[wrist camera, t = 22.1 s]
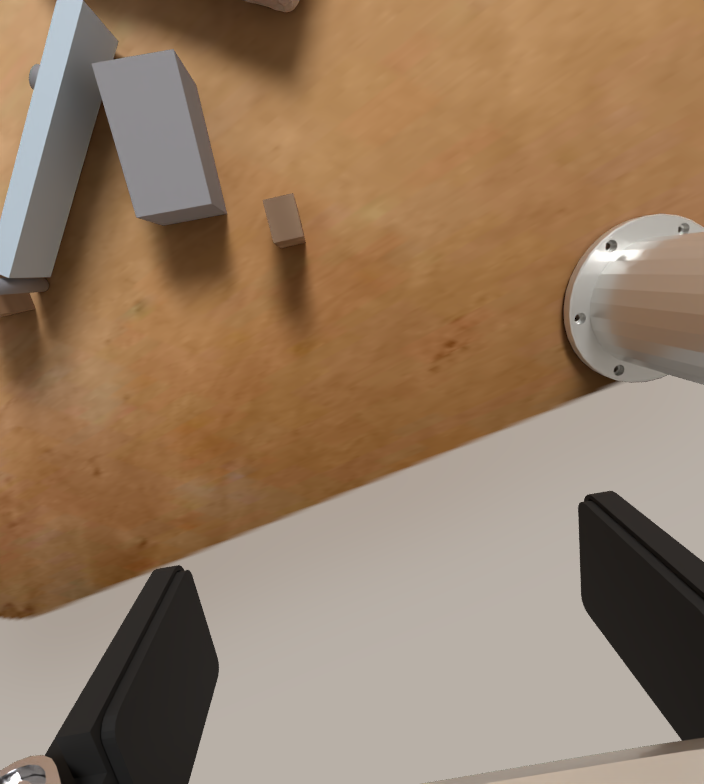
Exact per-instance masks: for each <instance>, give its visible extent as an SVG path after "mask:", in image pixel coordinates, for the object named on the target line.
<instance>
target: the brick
mask: <svg viewBox="0 0 704 784" xmlns="http://www.w3.org/2000/svg"><path fill="white" fill-rule="evenodd" d="M243 1H246V2H250V3H256V4H260V5H263V6H267V7H270V8H272V9H274V10H277V11H282V12H290V11H292V10H293V9H294V8H295V7H296V6H297V5H298V3H299V1H300V0H243Z"/></svg>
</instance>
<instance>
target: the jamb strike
mask: <svg viewBox="0 0 704 784" xmlns="http://www.w3.org/2000/svg"><path fill="white" fill-rule="evenodd" d="M263 204H264V208H265V212H266V215H267V219H268V223H269V227H270V231H271V235H272V239H273V243H274V244H276V245H277V246H279V247H280V248H284V247H288V246H293V245H297V244H301V243H306V242H305V238H304V234H303V229H302V225H301V221H300V217H299V213H298V208H297V205H296V201H295V198H294V194H293V193H292V194H287V195H283V196H279V197H274V198H270V199H265V200H263Z"/></svg>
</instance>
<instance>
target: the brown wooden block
mask: <svg viewBox="0 0 704 784" xmlns="http://www.w3.org/2000/svg"><path fill="white" fill-rule="evenodd" d="M0 278H7V277H5V276H3V275H0ZM34 309H35V307H34V304H33V302H32V299H31V297H30V295H29V293H18V294H4V295H0V317H4V316H8V315H12V314H17V313H21V312H25V311H30V310H34Z"/></svg>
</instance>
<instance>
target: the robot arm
mask: <svg viewBox="0 0 704 784" xmlns="http://www.w3.org/2000/svg"><path fill="white" fill-rule="evenodd" d="M605 247H606V248H605ZM575 316H576V319H575ZM564 324H565V329H566V333H567V337H568V339H569V342H570V344H571V346H572V348H573V350H574V352H575V353H576V354H577V355H578V357H579V358H580V359H581V361H582V362H583V363H585V364H586V365H587V366H588V367H589V368H591V369H592V370H593V371H595V372H597V373H599V374H601V375H603V376H605V377H608V378H611V379H614V380H617V381H624V382H631V383H632V382H647V381H651V380H655V379H659V378H662V377H664V376H666V375H672V376H676V377H679V378H683V379H686V380H689V381H693V382H696V383H700V384H703V385H704V227H702V226H701V225H699V224H697V223H696V222H694V221H693V220H691V219H688V218H684V217H681V216H678V215H670V214H656V215H648V216H643V217H638V218H634V219H630V220H628V221H625V222H623V223H621V224H619V225H616V226H615V227H613V228H612V229H610V230H609V231H607V232H606V233H604V234H603V235H601V236H600V237H599V238H598V239H597V240H596V241H595V242H594V243H593V244H592V245H591V246H590V247H589V248H588V249H587V251H586V252H585V253H584V255H583V256H582V257H581V259H580V260H579V262H578V264H577V265H576V267H575V269H574V271H573V273H572V275H571V278H570V281H569V284H568V287H567V290H566V294H565V302H564ZM578 513H579V542H580V572H581V596H582V602H583V605H584V607H585V609H586V611H587V613H588V614H589V616H590V617H591V619H592V620H593V621H594V622H595V624H596V625H597V627H598V628H599V629H600V630H601V632H602V633H603V635H604V636H605V637H606V639H607V640H608V641H609V643H610V644H611V645H612V647H613V648H614V649H615V651H616V652H617V653H618V655H619V656H620V658H621V659H622V660H623V662H624V663H625V664H626V666H627V667H628V668H629V670H630V671H631V672H632V674H633V675H634V676H635V678H636V679H637V680H638V682H639V683H640V684H641V686H642V687H643V688H644V690H645V691H646V692H647V694H648V695H649V696H650V698H651V699H652V701H653V702H654V703H655V705H656V706H657V707H658V708H659V710H660V711H661V713H662V714H663V715H664V717H665V718H666V719H667V721H668V722H669V723H670V725H671V726H672V727H673V729H674V730H675V731H676V733H677V734H678V735H679V737H680V738H681V740H682V741H678V742H671V743H664V744H657V745H650V746H644V747H638V748H632V749H626V750H620V751H614V752H608V753H602V754H596V755H590V756H584V757H578V758H571V759H565V760H559V761H553V762H547V763H542V764H535V765H529V766H523V767H517V768H511V769H505V770H500V771H493V772H488V773H482V774H477V775H470V776H464V777H458V778H452V779H446V780H441V781H435V782H429V783H424V784H704V562H703V561H702V560H700V559H699V558H698V557H696V556H695V555H694V554H693V553H691V552H690V551H689V550H688V549H686V548H685V547H684V546H682V545H681V544H680V543H679V542H677V541H676V540H675V539H674V538H672V537H671V536H670V535H669V534H667V533H666V532H665V531H663V530H662V529H661V528H660V527H658V526H657V525H656V524H655V523H653V522H652V521H651V520H650V519H648V518H647V517H646V516H644V515H643V514H642V513H641V512H639V511H638V510H637V509H636V508H634V507H633V506H632V505H630V504H629V503H628V502H627V501H625V500H624V499H623V498H622V497H620V496H619V495H618V494H617V493H615V492H613V491H607V492H601V493H595V494H589V495H587V496H586V497H585V499H584V502H581V503H579V507H578ZM218 672H219V664H218V658H217V655H216V652H215V648H214V645H213V641H212V638H211V635H210V632H209V628H208V625H207V622H206V619H205V615H204V612H203V609H202V606H201V603H200V599H199V596H198V593H197V590H196V586H195V583H194V580H193V577H192V574H191V572H190V571H189V570H186V571H184V569H183V568H182V566H179V565H178V566H172V567H166V568H160V569H156V570H154V571H153V572H152V574H151V576H150V577H149V579H148V581H147V582H146V584H145V586H144V588H143V589H142V591H141V593H140V594H139V596H138V598H137V599H136V601H135V603H134V604H133V606H132V608H131V609H130V611H129V613H128V615H127V616H126V618H125V620H124V621H123V623H122V625H121V626H120V628H119V630H118V632H117V634H116V635H115V637H114V638H113V640H112V642H111V644H110V645H109V647H108V649H107V650H106V652H105V654H104V656H103V657H102V659H101V661H100V662H99V664H98V666H97V667H96V669H95V671H94V672H93V674H92V676H91V677H90V679H89V681H88V683H87V684H86V686H85V688H84V689H83V691H82V693H81V694H80V696H79V698H78V700H77V701H76V703H75V705H74V707H73V708H72V710H71V711H70V713H69V715H68V717H67V718H66V720H65V722H64V724H63V725H62V727H61V728H60V730H59V732H58V734H57V735H56V737H55V739H54V741H53V742H52V744H51V746H50V747H49V749H48V751H47V753H46V754H45V756H44V755H37V756H29V757H27V758H24V759H21V760H18V761H16V762H14V763H12V764H10V765H9V766H7V767H5V768H4V769H2V770H0V784H188V783H189V779H190V776H191V772H192V768H193V765H194V761H195V758H196V754H197V750H198V747H199V743H200V740H201V736H202V732H203V728H204V725H205V722H206V718H207V714H208V710H209V707H210V703H211V700H212V696H213V693H214V689H215V686H216V682H217V678H218Z"/></svg>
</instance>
